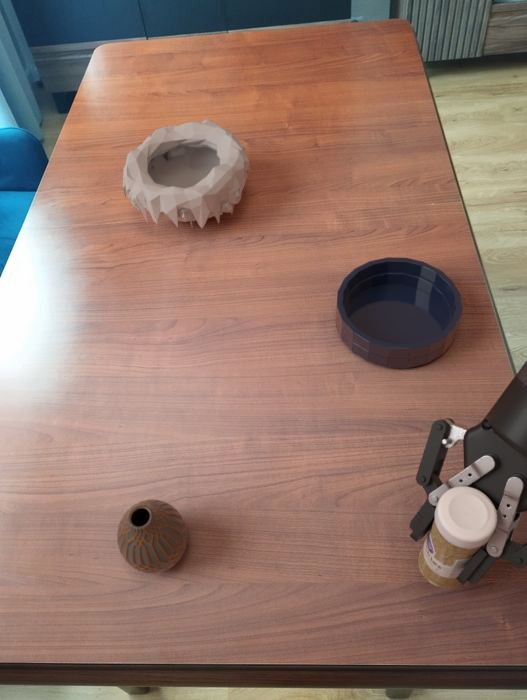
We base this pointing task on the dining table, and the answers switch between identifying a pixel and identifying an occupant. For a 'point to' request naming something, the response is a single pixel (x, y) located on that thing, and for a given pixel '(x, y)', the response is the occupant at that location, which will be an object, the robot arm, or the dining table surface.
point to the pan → (398, 312)
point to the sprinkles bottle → (456, 535)
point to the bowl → (186, 173)
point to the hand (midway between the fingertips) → (439, 557)
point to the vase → (152, 536)
